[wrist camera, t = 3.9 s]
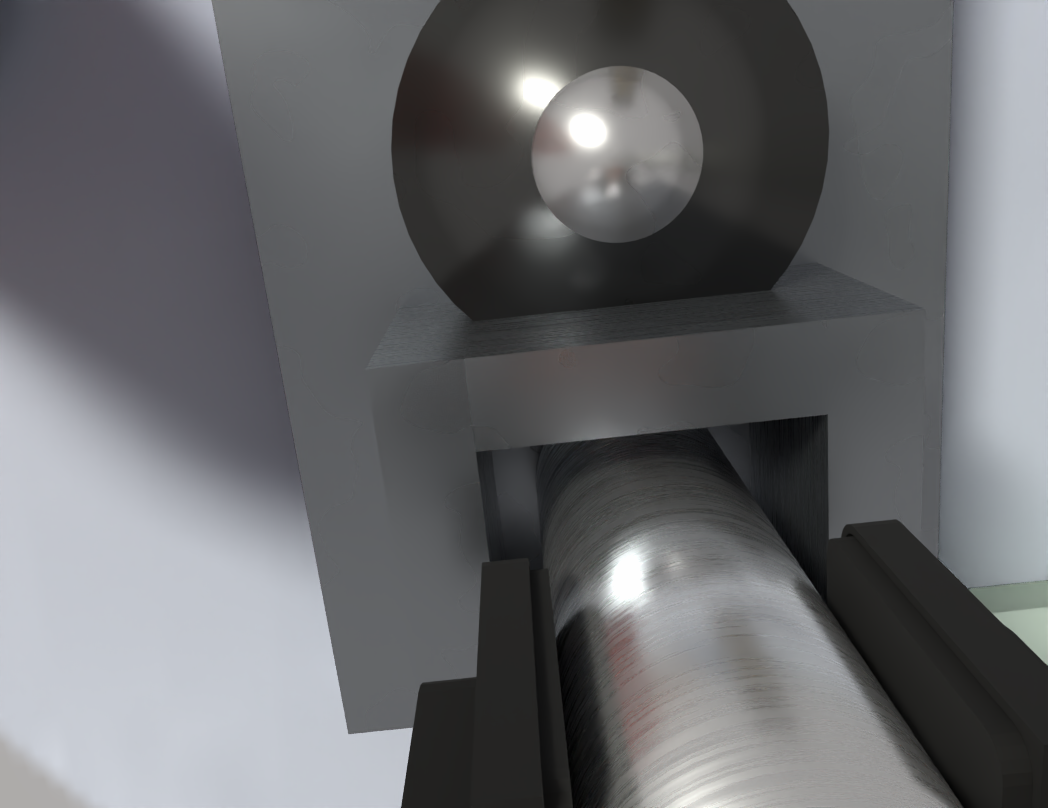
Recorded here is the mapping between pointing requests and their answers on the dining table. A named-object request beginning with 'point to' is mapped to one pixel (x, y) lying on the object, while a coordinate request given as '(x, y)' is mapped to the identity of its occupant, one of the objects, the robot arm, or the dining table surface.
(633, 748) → the lock pin
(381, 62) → the bracket
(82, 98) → the dining table surface
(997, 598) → the tray
